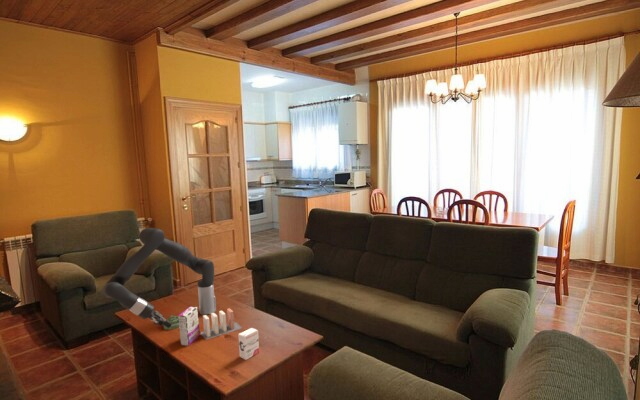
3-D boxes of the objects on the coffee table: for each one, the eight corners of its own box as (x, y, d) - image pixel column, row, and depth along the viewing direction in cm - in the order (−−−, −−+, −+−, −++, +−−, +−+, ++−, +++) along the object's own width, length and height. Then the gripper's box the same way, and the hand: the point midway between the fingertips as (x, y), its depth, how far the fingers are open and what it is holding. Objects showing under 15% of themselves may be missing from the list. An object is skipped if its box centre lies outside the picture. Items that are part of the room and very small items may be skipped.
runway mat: (235, 322, 211) (235, 321, 211) (242, 328, 203) (242, 328, 203) (199, 333, 199) (199, 332, 199) (205, 340, 191) (205, 339, 191)
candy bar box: (191, 335, 197) (189, 306, 195) (200, 335, 196) (198, 306, 194) (180, 345, 186) (177, 315, 184) (188, 346, 185) (186, 316, 183)
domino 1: (207, 332, 199) (205, 314, 198) (210, 336, 195) (209, 318, 193) (204, 333, 198) (202, 315, 197) (207, 337, 194) (206, 319, 192)
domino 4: (230, 324, 207) (229, 308, 206) (234, 328, 202) (233, 311, 201) (227, 325, 206) (226, 308, 205) (231, 329, 201) (230, 312, 200)
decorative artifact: (159, 328, 207) (171, 332, 202) (158, 316, 206) (170, 320, 201) (175, 320, 215) (186, 324, 210) (174, 309, 215) (185, 313, 209)
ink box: (253, 349, 181) (251, 326, 180) (259, 352, 178) (258, 329, 176) (239, 356, 175) (237, 333, 173) (245, 360, 171) (244, 336, 170)
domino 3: (223, 327, 204) (221, 310, 203) (226, 331, 200) (225, 313, 199) (220, 328, 203) (219, 311, 202) (223, 332, 199) (222, 314, 198)
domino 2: (215, 329, 202) (213, 312, 200) (218, 333, 197) (217, 316, 196) (212, 330, 201) (211, 313, 200) (215, 334, 196) (214, 316, 195)
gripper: (146, 306, 174) (176, 325, 181) (146, 297, 186) (174, 314, 193) (135, 319, 173) (165, 337, 180) (136, 309, 185) (164, 326, 191)
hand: (170, 325), depth 186 cm, fingers closed
